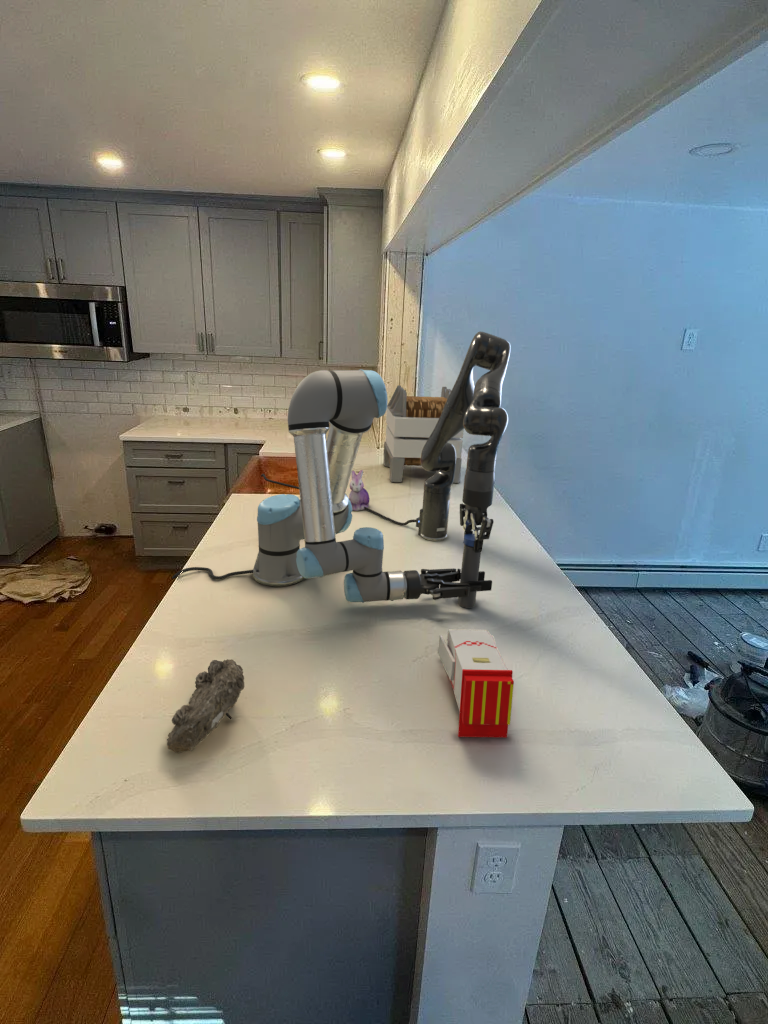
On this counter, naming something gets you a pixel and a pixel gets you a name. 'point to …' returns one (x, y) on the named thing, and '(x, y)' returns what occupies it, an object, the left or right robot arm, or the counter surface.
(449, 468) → the right robot arm
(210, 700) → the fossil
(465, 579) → the grey cylinder
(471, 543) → the lid
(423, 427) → the grey storage crate
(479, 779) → the counter surface
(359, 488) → the figurine
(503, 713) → the toy
